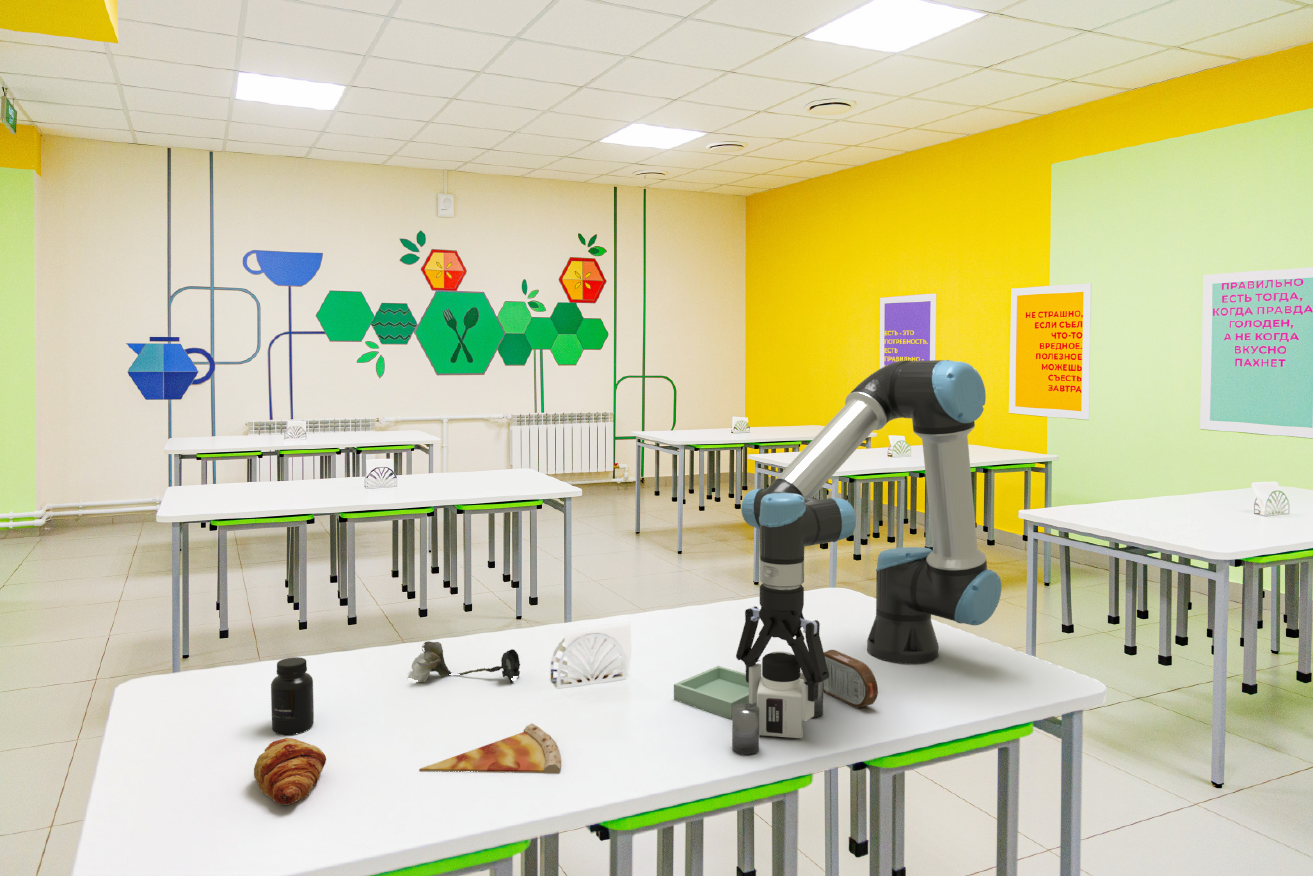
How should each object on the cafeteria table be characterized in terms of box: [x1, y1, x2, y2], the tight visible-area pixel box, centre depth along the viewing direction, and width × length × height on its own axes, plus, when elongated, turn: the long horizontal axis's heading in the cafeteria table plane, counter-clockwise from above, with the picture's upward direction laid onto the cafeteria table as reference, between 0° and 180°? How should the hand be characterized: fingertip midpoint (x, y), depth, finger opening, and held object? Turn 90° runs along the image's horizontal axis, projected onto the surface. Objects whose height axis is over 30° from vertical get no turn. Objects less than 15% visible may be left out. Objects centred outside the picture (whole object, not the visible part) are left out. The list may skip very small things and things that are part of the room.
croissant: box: [253, 737, 327, 806], centre depth 135 cm, size 21×10×8 cm, turn 25°
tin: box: [823, 649, 879, 709], centre depth 167 cm, size 15×3×8 cm, turn 31°
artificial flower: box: [407, 641, 521, 683], centre depth 177 cm, size 9×22×10 cm, turn 79°
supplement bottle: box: [270, 656, 315, 736], centre depth 154 cm, size 7×7×12 cm
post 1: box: [731, 704, 760, 757], centre depth 145 cm, size 4×4×7 cm
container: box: [757, 651, 805, 739], centre depth 153 cm, size 8×8×13 cm
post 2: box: [800, 672, 825, 720], centre depth 160 cm, size 4×4×7 cm
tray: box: [673, 665, 757, 720], centre depth 167 cm, size 14×14×3 cm
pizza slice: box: [418, 723, 562, 774], centre depth 146 cm, size 16×22×2 cm
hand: (780, 709), depth 153 cm, fingers closed on container, 10 cm apart
